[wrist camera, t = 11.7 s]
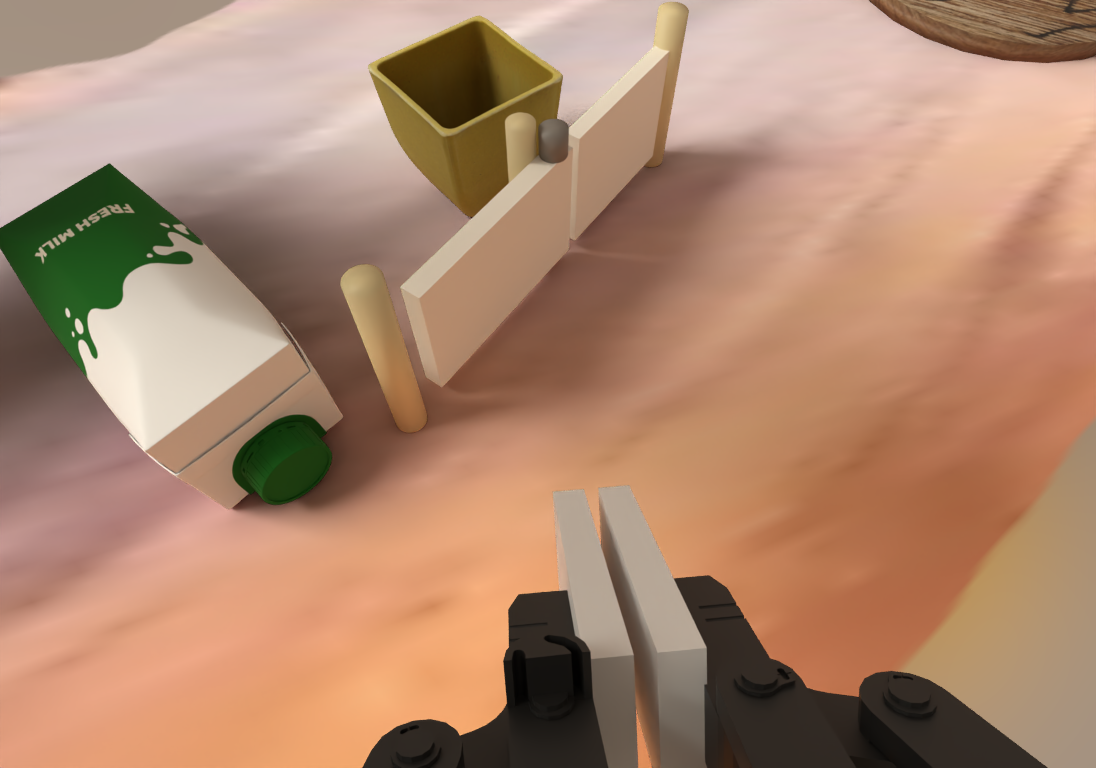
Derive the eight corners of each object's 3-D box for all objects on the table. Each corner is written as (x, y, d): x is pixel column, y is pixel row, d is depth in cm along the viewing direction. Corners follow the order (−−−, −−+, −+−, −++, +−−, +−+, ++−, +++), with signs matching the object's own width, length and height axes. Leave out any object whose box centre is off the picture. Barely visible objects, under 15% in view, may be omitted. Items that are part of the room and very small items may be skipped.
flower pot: (392, 178, 49) (363, 62, 41) (490, 127, 52) (480, 11, 44) (463, 249, 46) (446, 137, 38) (564, 191, 48) (566, 75, 41)
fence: (412, 438, 38) (363, 304, 28) (371, 410, 39) (309, 270, 29) (667, 156, 50) (697, -9, 40) (630, 140, 51) (651, -25, 41)
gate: (444, 389, 39) (417, 277, 30) (423, 375, 39) (389, 262, 31) (571, 250, 44) (577, 124, 36) (551, 239, 45) (551, 112, 36)
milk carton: (74, 326, 43) (245, 549, 35) (-44, 229, 35) (145, 489, 27) (195, 246, 45) (379, 437, 38) (112, 138, 38) (323, 353, 30)
